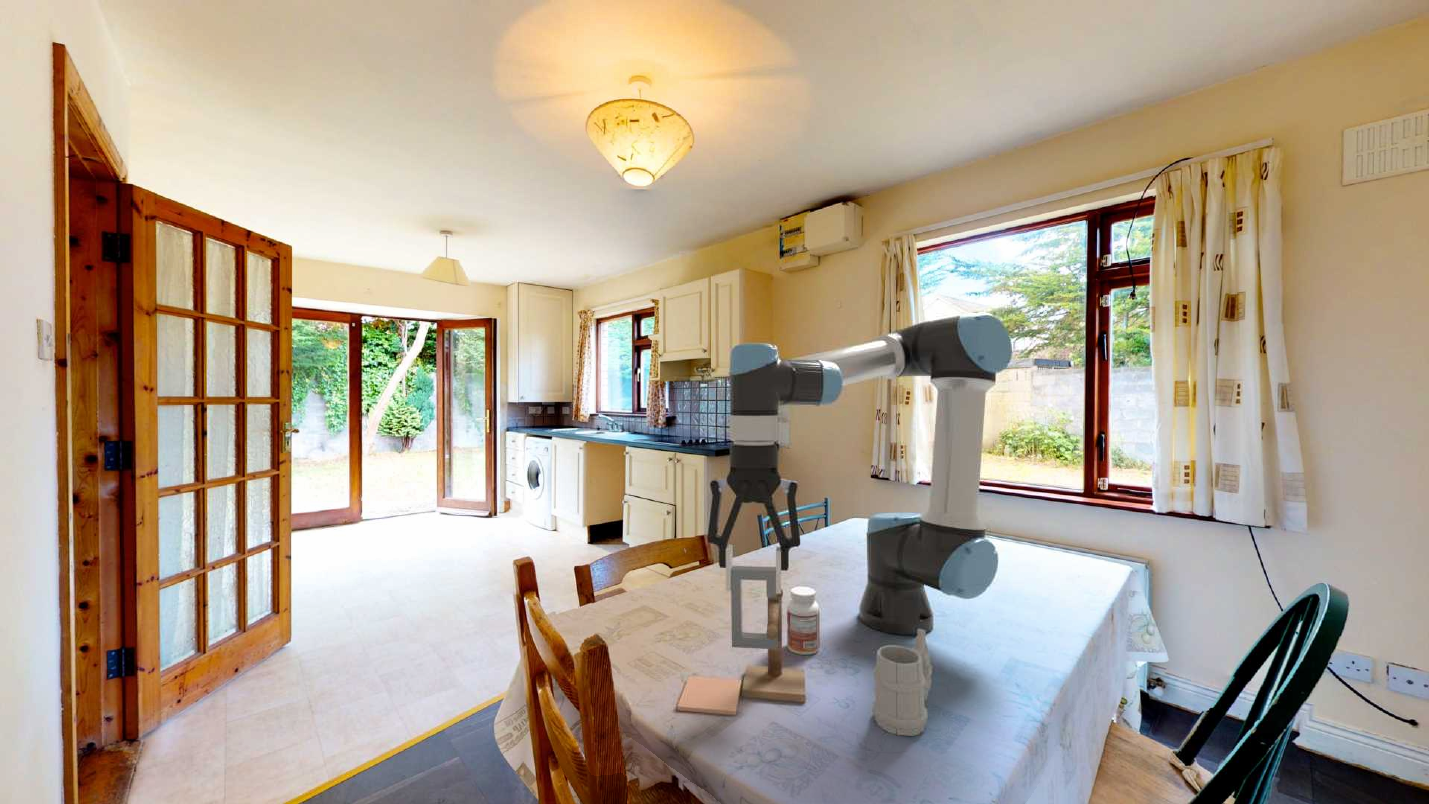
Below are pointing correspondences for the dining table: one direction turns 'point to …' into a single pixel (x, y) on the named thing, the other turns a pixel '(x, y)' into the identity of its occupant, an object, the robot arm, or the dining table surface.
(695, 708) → the tile
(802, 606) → the pill bottle
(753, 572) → the c link
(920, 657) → the mug
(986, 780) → the dining table surface
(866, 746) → the dining table surface
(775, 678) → the hook stand
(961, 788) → the dining table surface
